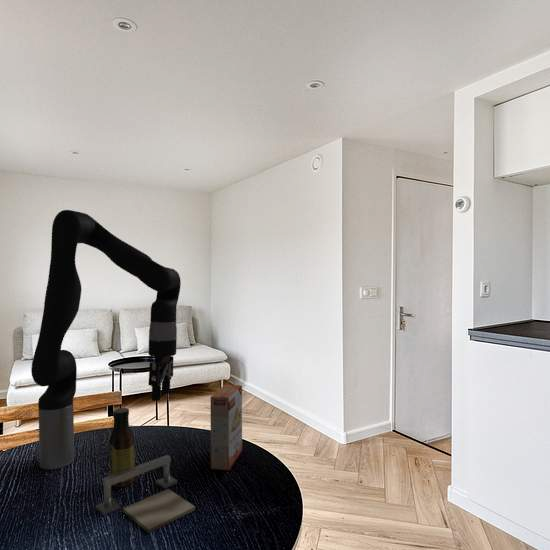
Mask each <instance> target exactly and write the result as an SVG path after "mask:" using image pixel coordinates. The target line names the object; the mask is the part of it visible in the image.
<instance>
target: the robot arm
mask: <svg viewBox="0 0 550 550" xmlns="http://www.w3.org/2000/svg"><path fill="white" fill-rule="evenodd" d="M78 244H85V245H87V246H89V247H92V248H95V249H97V250H98V251H100V252H101V253H103V254H104V255H105V256H106V257H108V259H109V260H110V261H111V262H112V263H113V264H114V265H116V266H117V267H118V268H120V269H122V271H125V272H126V273H129V275H132V276H134V277H135V278H137V279H138V280H139V281H140V282H142V283H143V284H144V285H145V286H147V287H148V288H150V289H152V290H153V291H155V292H156V297H155V301H154V302H152V304H151V306H150V319H149V320H150V324H149V330H148V353H147V354H148V355H149V356H151V357H154V359H153V362H149V367H148V370H149V371H148V386H150V387H151V401H153V402H159V401H160V400H161V399H162V398H161V397H162V394H163V395H164V394H165V395H167V394H168V395H169V394H170V392H171V380H172V378H173V377H174V356H176V355H177V340H178V339H177V338H178V335H177V334H178V332H177V331H178V328H177V306H178V301H179V298H180V292H181V286H182V285H181V284H182V283H181V277H180V274H179V272H178V271H177V270H175V269H174V268H170V267H165V266H163V265H161V264H159V263H158V262H157V261H154V260H153V259H152V258H151V257H150V256H149V255H148V254H147V253H145V252H143V251H141V250H139V249H137V248H136V247H135V246H132V245H131V244H129V243H127V242H125V241H123V240H122V239H121V238H119V237H117V236H116V235H115V234H113V233H112V232H110V231H109V230H108V229H106V228H105V227H104V226H103V225H102V224H101V223H99V221H97V220H95V218H93V217H92V216H91V215H89V214H87V213H85V212H81V211H76V210H73V209H72V210H71V209H63V210H61V211H59V212H58V213H57V214H56V216H55V217H54V219H53V221H52V227H51V244H50V246H51V249H50V250H51V251H50V262H49V271H48V277H47V278H48V279H47V283H46V284H47V286H46V289H45V297H44V303H43V313H42V318H41V322H40V323H41V324H40V329H39V335H38V339H37V343H36V348H35V350H34V354H33V358H32V361H31V362H32V363H31V368H30V369H31V372H30V373H31V378H32V380H33V382H34V383H35V384H36V385H37V386H40V387H47V388H46V390H45V391H44V392H43V394H41V395H40V396H39V398H38V401H37V402H38V403H37V404H38V405H37V406H38V407H37V408H38V448H39V449H38V450H39V452H38V453H39V454H38V455H39V456H38V457H39V458H38V459H39V462H38V463H39V468H40V469H42V470H57V469H61V468H64V467H66V466H69V465H71V464H72V463H74V461H75V429H74V428H75V425H74V416H75V415H74V397H75V396H76V395H75V394H76V390H77V375H78V374H77V373H78V372H77V371H78V369H77V368H78V366H77V362H76V359H75V355H73V353H72V352H70V351H68V349H67V350H66V349H62V345H63V341H64V339H65V336H66V334H67V332H68V330H69V328H70V327H71V326H72V324H73V322H74V320H75V318H76V316H77V314H78V311H79V310H80V304H81V297H82V283H81V279H80V276H79V272H78V270H77V266H76V256H77V255H76V254H77V248H78Z"/></svg>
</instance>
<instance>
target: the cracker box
mask: <svg viewBox="0 0 550 550" xmlns="http://www.w3.org/2000/svg"><path fill="white" fill-rule="evenodd" d="M242 451H243V385H241V384H225V385H224V386H222V387H221V388H220V389H219V390H217V391H216V392H214V393H213V394H212V395H211V396H210V469H211V470H220V471H230V470H231V468H232V466H233V465H234V463H235V462H236V461H237V459H238V457H240V454H241V453H242Z"/></svg>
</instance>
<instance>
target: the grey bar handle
mask: <svg viewBox="0 0 550 550" xmlns="http://www.w3.org/2000/svg"><path fill="white" fill-rule="evenodd" d="M171 460H172V459H171V456H170V454H169V455H168V454H166V455H163V456H161V457H158V458H155V459H152V460H150V461H146V462H144V463H141V464H138V465H136V466H135V467H133V468H130V469H127V470H124V471H122V472H119V473H116V474H114V475H111V476H110V475H108V476H105V477H103V478H102V486H103V501H102V502H101V503H99V504H96V505H95V510H97V511H98V512H99V513H100V515H102V516H105V515H107V514H109V513H112V512H114V511H116V510H119V509H120V508H121V507H120V504H119V503H118V502H117V501H116V500H114V499H113V498H112V486H113V484H116V483H119V482H121V481H124V480H126V479H129V478H132V477H136V476H139V475H141V474H145V473H146V472H150V471H152V470H155V469H158V468H160V467H163V477H162V478H159V479H157V480H155V481H156V482H155V484H156V485H158V486H159V487H161V488H162V489H164V490H166V489H169V487H172V486H174V485H177V484H178V479H176V478H174V477H173V476H171V473H170V472H171V470H170V469H171V467H170V465H171V464H170V463H172V461H171Z"/></svg>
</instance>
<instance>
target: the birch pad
mask: <svg viewBox="0 0 550 550" xmlns="http://www.w3.org/2000/svg"><path fill="white" fill-rule="evenodd" d="M122 510H123V511H122V512H123V513H125V515H127V516H128V517H129V518H131V520H133V521H134V522H135V523H136V524H137V525H139V526H140V527H141V528H142V530H144V531H145V532H147V533H148V534H150V533H152V532H155V531H156V530H158V529H161V528H163V527H164V526H167V525H168V524H170V523H173V522H175V521H176V520H179V519H180V518H182V517H184V516H186V515H188V514H190V513H193V512H194V511H196V506H195V505H193V503H191V502H189V501H187V500H186V499H185V498H183V497H182V496H180V495H178V494H177V493H176V492H174V491H173V490H171V489H170V488H165V489H164V490H162V491H160V492H159V491H158V492H157V493H155V494H152V495H150V496H148V497H145V498H143V499H141V500H138V501H136V502H134V503H131V504H129V505H127V506H125V507H123V508H122Z"/></svg>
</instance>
